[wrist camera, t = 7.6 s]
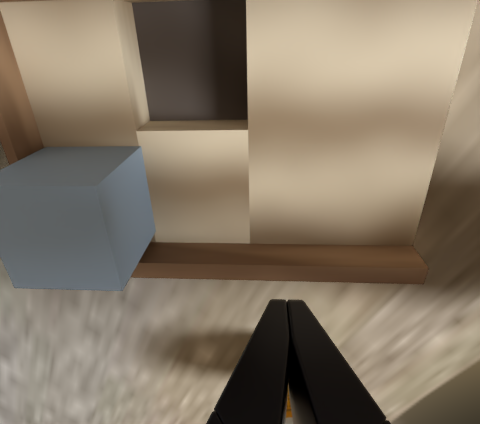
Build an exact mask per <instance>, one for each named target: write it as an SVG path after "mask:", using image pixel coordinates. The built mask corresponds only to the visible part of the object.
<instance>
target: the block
mask: <svg viewBox="0 0 480 424" xmlns="http://www.w3.org/2000/svg"><path fill="white" fill-rule="evenodd" d="M155 232H156V229H155V223H154V217H153V211H152V206H151V200H150V194H149V188H148V183H147V177H146V171H145V165H144V159H143V154H142V148H141V146H101V147H45V148H43V149H41V150H39V151H37V152H35V153H33V154H31V155H29V156H27V157H25V158H23V159H21V160H19V161H17V162H15V163H13V164H11V165H9V166H7V167H5V168H3V169H1V170H0V257H1V259H2V262H3V264H4V266H5V268H6V270H7V273H8V275H9V277H10V279H11V281H12V284H13V286H14V288H29V289H66V290H103V291H123V289H124V287H125V286H126V284H127V282H128V280H129V278H130V277H131V275H132V273H133V271H134V270H135V268H136V266H137V264H138V262H139V261H140V259H141V257H142V255H143V254H144V252H145V250H146V248H147V246H148V245H149V243H150V241H151V239H152V238H153V236H154V234H155Z"/></svg>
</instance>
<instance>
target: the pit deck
mask: <svg viewBox="0 0 480 424" xmlns="http://www.w3.org/2000/svg"><path fill="white" fill-rule="evenodd" d="M477 3H478V0H0V141H1V144H2V146H3V149H4V152H5V154H6V157H7V160H8V162H9V165H11V164H13V163H15V162H17V161H19V160H21V159H23V158H25V157H27V156H29V155H31V154H33V153H35V152H37V151H39V150H41V149H43V148H45V147H101V146H141V148H142V154H143V159H144V165H145V171H146V177H147V183H148V188H149V194H150V200H151V206H152V211H153V217H154V223H155V229H156V232H155V234H154V236H153V238H152V239H151V241H150V243H149V245H148V246H147V248H146V250H145V252H144V254H143V255H142V257H141V259H140V261H139V262H138V264H137V266H136V268H135V270H134V271H133V273H132V275H131V277H134V278H178V279H222V280H266V281H309V282H353V283H397V284H424V283H425V279H426V276H427V273H428V270H429V268H428V267H427V265H426V264H425V262H424V261H423V260H422V258H421V257H420V255H419V254H418V253H417V251H416V250H415V248H414V247H413V243H414V240H415V236H416V232H417V228H418V225H419V221H420V217H421V213H422V210H423V206H424V202H425V198H426V195H427V191H428V187H429V183H430V180H431V176H432V172H433V168H434V165H435V161H436V157H437V153H438V150H439V146H440V142H441V138H442V135H443V131H444V127H445V123H446V119H447V116H448V112H449V108H450V104H451V101H452V97H453V93H454V89H455V86H456V82H457V78H458V74H459V71H460V67H461V63H462V59H463V56H464V52H465V48H466V44H467V41H468V37H469V33H470V29H471V26H472V22H473V18H474V14H475V11H476V7H477Z"/></svg>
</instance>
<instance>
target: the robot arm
mask: <svg viewBox="0 0 480 424" xmlns="http://www.w3.org/2000/svg"><path fill="white" fill-rule="evenodd" d="M288 390H289V398H290V405H291V411H292V418H293V424H391V423H390V422H389V421H388V420H386V416H385V415H384V414H383V412H382V411H381V409H380V408H379V406H378V405H377V404H376V402H375V401H374V399H373V398H372V397H371V395H370V394H369V392H368V391H367V390H366V388H365V387H364V385H363V384H362V382H361V381H360V380H359V378H358V377H357V375H356V374H355V373H354V371H353V370H352V368H351V367H350V366H349V364H348V363H347V361H346V360H345V358H344V357H343V356H342V354H341V353H340V351H339V350H338V349H337V347H336V346H335V344H334V343H333V342H332V340H331V339H330V337H329V336H328V334H327V333H326V332H325V330H324V329H323V327H322V326H321V325H320V323H319V322H318V320H317V319H316V318H315V316H314V315H313V313H312V312H311V310H310V309H309V308H308V306H307V305H306V303H305V302H304V301H303V300H288V301H287V302H286V300H282V299H272V300H270V301H269V303H268V305H267V307H266V309H265V311H264V313H263V315H262V317H261V319H260V321H259V323H258V325H257V326H256V328H255V330H254V332H253V334H252V336H251V338H250V340H249V342H248V344H247V346H246V348H245V350H244V352H243V354H242V356H241V358H240V359H239V361H238V363H237V365H236V367H235V369H234V371H233V373H232V375H231V377H230V379H229V381H228V383H227V385H226V387H225V389H224V390H223V392H222V394H221V396H220V398H219V400H218V402H217V404H216V406H215V408H214V411H213V412H212V413H211V415H210V417H209V419H208V421H207V423H206V424H285V422H286V410H287V395H288Z"/></svg>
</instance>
